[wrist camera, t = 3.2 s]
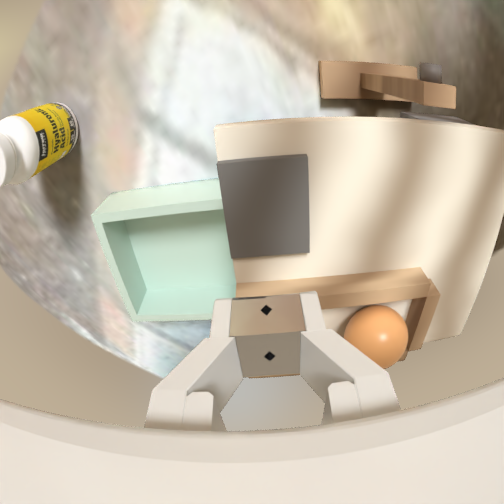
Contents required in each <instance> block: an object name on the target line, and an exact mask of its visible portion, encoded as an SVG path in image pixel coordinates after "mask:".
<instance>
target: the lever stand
mask: <svg viewBox="0 0 504 504" xmlns="http://www.w3.org/2000/svg"><path fill="white" fill-rule="evenodd" d="M419 67H420V79H417V67H410V66H402V65H393V64H382V63H369V62H351V61H319V72H320V87H321V98H324V99H328V98H344V99H379V100H396V101H409V102H415V103H418V104H421V105H426V106H436V107H444V108H452V109H455V108H456V87H455V86H451V85H446V84H442V70H441V65H436V64H430V63H421V62H419Z"/></svg>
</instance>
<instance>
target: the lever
mask: <svg viewBox="0 0 504 504" xmlns="http://www.w3.org/2000/svg"><path fill="white" fill-rule="evenodd" d="M214 137H215V144H216V151H217V158H218V162H217V170H218V177H219V183H220V190H221V197H222V203H223V210H224V217H225V223H226V230H227V236H228V242H229V249H230V255H231V259H233V265H234V271H235V278H236V296H235V298H237V297H257V296H272V295H284V294H294V293H300V292H309V291H316V292H317V294H318V298H319V302H320V306H321V310H322V314H323V318H324V322H325V326H326V329H332V330H334V331H335V332H336V333H337V334H339V335H340V336H341V337H343V338H344V333H345V329H346V326H347V324H348V322H349V321H350V319H351V318H352V317H353V316H354V315H355V314H356V313H357V312H358V311H360V310H361V309H363V308H365V307H368V306H372V305H383V306H387V307H390V308H392V309H394V310H395V311H397V312H398V313H399V314H400V315H401V316H402V318H403V319H404V321H405V323H406V326H407V329H408V343H407V347H406V350H405V352H404V354H403V355H402V357H401V358H400V359H399V360H398V361H403V360H405V358H406V356H407V353H408V351H412V350H418V349H421V347H422V344H423V343H426V342H431V341H436V340H440V339H445V338H450V337H454V336H459V335H460V334H461V332H462V330H463V328H464V326H465V323H466V321H467V319H468V317H469V314H470V312H471V310H472V307H473V305H474V302H475V300H476V297H477V295H478V292H479V290H480V287H481V284H482V282H483V279H484V276H485V274H486V271H487V268H488V265H489V262H490V259H491V256H492V253H493V250H494V246H495V243H496V240H497V236H498V233H499V229H500V225H501V222H502V218H503V214H504V130H502V129H496V128H490V127H483V126H477V125H475V124H472V123H470V122H468V121H465V120H462V119H460V118H457V117H453V116H444V115H435V114H424V113H412V112H400V118H388V117H306V118H285V119H270V120H258V121H247V122H237V123H227V124H219V125H216V126H215V128H214ZM398 361H397V362H398ZM293 375H300V373H299V374H284V375H268V376H257V377H249V378H263V377H264V378H265V377H279V376H293Z"/></svg>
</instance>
